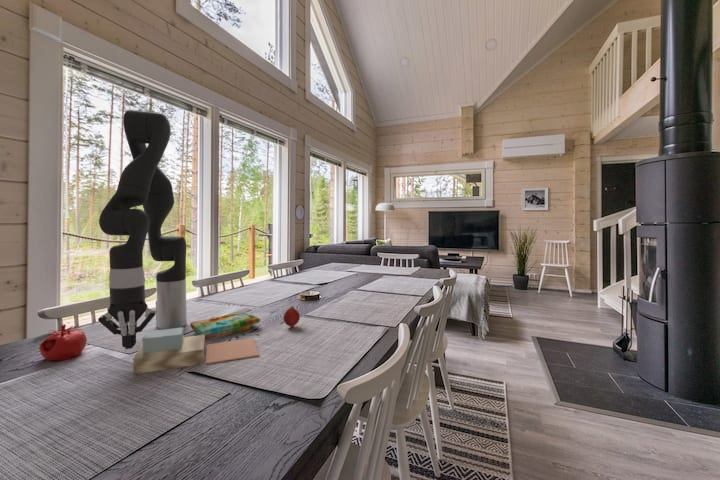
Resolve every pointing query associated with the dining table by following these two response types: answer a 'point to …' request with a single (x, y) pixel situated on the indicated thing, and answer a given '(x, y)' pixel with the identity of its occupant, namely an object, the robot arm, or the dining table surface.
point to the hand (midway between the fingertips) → (129, 347)
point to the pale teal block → (163, 340)
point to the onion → (291, 317)
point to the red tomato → (63, 344)
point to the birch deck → (171, 356)
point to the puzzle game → (224, 325)
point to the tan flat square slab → (231, 351)
